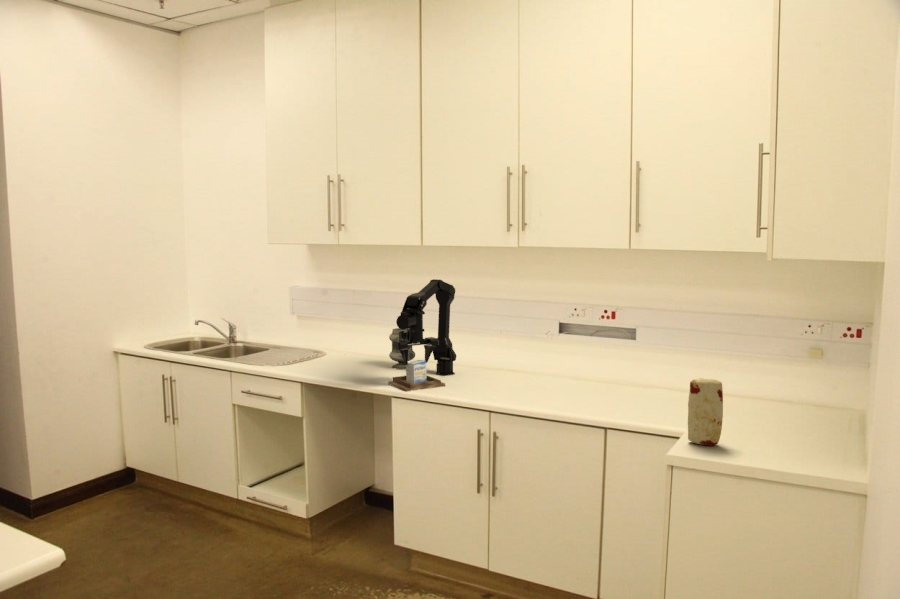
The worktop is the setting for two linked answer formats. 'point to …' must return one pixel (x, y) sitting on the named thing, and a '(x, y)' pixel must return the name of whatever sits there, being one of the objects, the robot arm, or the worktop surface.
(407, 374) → the medicine box
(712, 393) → the food model
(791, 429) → the worktop surface
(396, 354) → the grey ornate vase
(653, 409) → the worktop surface
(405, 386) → the walnut tray
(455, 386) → the worktop surface
